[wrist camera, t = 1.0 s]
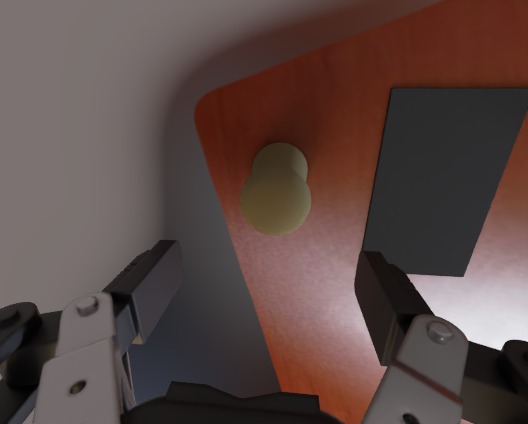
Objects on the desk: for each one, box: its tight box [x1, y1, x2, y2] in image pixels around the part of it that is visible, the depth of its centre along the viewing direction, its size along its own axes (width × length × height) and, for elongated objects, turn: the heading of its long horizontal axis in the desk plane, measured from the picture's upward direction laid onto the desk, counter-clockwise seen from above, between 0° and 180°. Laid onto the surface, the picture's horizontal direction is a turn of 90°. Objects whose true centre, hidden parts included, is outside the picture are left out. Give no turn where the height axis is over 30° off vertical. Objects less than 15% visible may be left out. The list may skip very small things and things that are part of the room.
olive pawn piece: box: [240, 142, 311, 236], centre depth 22 cm, size 6×6×11 cm
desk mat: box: [362, 88, 528, 277], centre depth 26 cm, size 20×12×1 cm, turn 0°
